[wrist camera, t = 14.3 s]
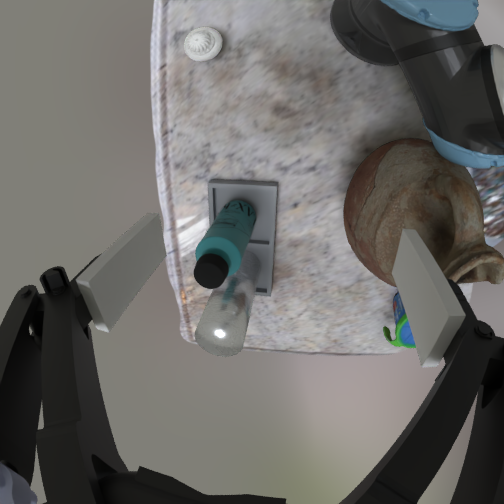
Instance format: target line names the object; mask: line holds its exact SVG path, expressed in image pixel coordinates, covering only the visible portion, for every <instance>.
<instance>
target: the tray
mask: <svg viewBox="0 0 504 504" xmlns="http://www.w3.org/2000/svg"><path fill="white" fill-rule="evenodd" d="M277 188H278V183H276V182H260V181H241V180H214V179H212V180H210V181H209V182H208V202H209V222H210V226H211V225H212V223H213V222H214V220H215V219H216V217H217V216H218V214H219V213H220V212H219V211H221V210H222V209H223V208H222V207H223V206H225V204H227V203H229V202H231V201H233V200H235V201H236V200H240V201H244V202H246V203H248V204H249V205H250V206H251V207H252V208H253V209H254V210H255V212H256V213H255V214H256V219H257V221H256V223H255V226H254V229H253V230H254V231H253V232H252V233H253V234H251V236H252V237H250V240H249V243H248V246H247V247H246V250H247V251H250V252H252V253H253V254H255V255H256V256H257V257H258V259H259V261H260V263H261V270H260V275H259V279H258V283H257V288H256V292H255V295H260V296H270V297H271V291H272V278H273V262H274V245H275V227H276V208H277Z"/></svg>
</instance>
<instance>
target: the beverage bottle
mask: <svg viewBox="0 0 504 504" xmlns="http://www.w3.org/2000/svg"><path fill="white" fill-rule="evenodd" d="M222 208H223V209H222V210H221V211H219V212H220V213H219V214H218V216H217V217H216V219H215V220H214V222H213V223H212V225H211V226H210V228H209V229H208V231H207V230H206V231H207V233H206V232H205V236H204V237H203V239H202V240H201V241H200V243H199V244H198V246H197V248H196V253H195V254H196V260H197V263H196V266H195V269H194V277H195V279H196V281H197V282H198V283H199V284H200V285H201V286H203V287H205V288H208V289H215V288H218V287H220V286H221V285H222V284H223V283H224V281H225V279H226V278H227V277H228V276H231V275H233V274H234V273H235V272H237V271H238V269H239V268H240V265H241V262H242V258H243V255H244V253H245V250H246V247H247V246H248V243H249V240H250V237H252V236H251V234H253V233H252V232H253V231H254V230H253V229H254V226H255V223H256V221H257V219H256V214H255V213H256V212H255V210H254V209H253V208H252V207H251V206H250V205H249V204H248V203H246V202H244V201H240V200H236V201H235V200H233V201H231V202H229V203H227V204H225V206H223V207H222Z"/></svg>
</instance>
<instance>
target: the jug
mask: <svg viewBox="0 0 504 504" xmlns="http://www.w3.org/2000/svg"><path fill="white" fill-rule="evenodd" d="M344 226H345V231H346V235H347V238H348V242H349V244H350V245H351V248H352V249H353V251H354V253H355V254H356V256H357V257H358V259H359V260H360V261H361V262H362V263H363V265H364V266H365V267H366V268H367V269H368V270H369V271H370V272H372V273H373V274H374V275H375V276H377V277H378V278H379V279H381V280H382V281H384V282H386V283H387V284H389V285H391V286H394V287H397V286H396V283H395V280H394V277H393V275H392V271H393V267H394V263H395V259H396V255H397V251H398V247H399V243H400V239H401V234H402V230H403V229H412V230H416V231H417V233H418V234H419V236H420V237H421V239H422V240H423V242H424V243H425V245H426V246H427V248H428V250H429V251H430V253H431V254H432V256H433V258H434V259H435V261H436V262H437V264H438V266H439V267H440V269H441V271H442V273H443V274H444V276H445V278H446V279H452V280H453V281H454V282H455V283H456V284H461V283H473V282H481V281H489V282H490V283H491V284H500V283H501V282H502V280H503V279H504V258H503V256H502V254H501V253H499V252H498V251H497V250H495V249H494V248H493V247H491V246H488V245H487V244H486V242H485V237H484V231H483V230H484V216H483V209H482V204H481V200H480V196H479V193H478V190H477V188H476V185H475V183H474V181H473V179H472V177H471V175H470V173H469V172H468V170H467V169H466V167H465V166H461V165H458V164H455V163H453V162H450V161H448V160H447V159H445V158H444V157H442V156H441V155H440V154H439V153H438V151H437V150H436V149H435V147H434V145H433V143H432V142H429V141H426V140H422V139H414V138H407V139H400V140H396V141H392V142H389V143H387V144H385V145H383V146H381V147H379V148H377V149H376V150H375V151H374V152H373V153H371V154H370V155H369V156H368V157H367V158H366V159H365V160H364V161H363V162H362V164H361V165H360V166H359V167H358V169H357V170H356V172H355V174H354V176H353V178H352V180H351V182H350V185H349V187H348V190H347V194H346V198H345V203H344Z"/></svg>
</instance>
